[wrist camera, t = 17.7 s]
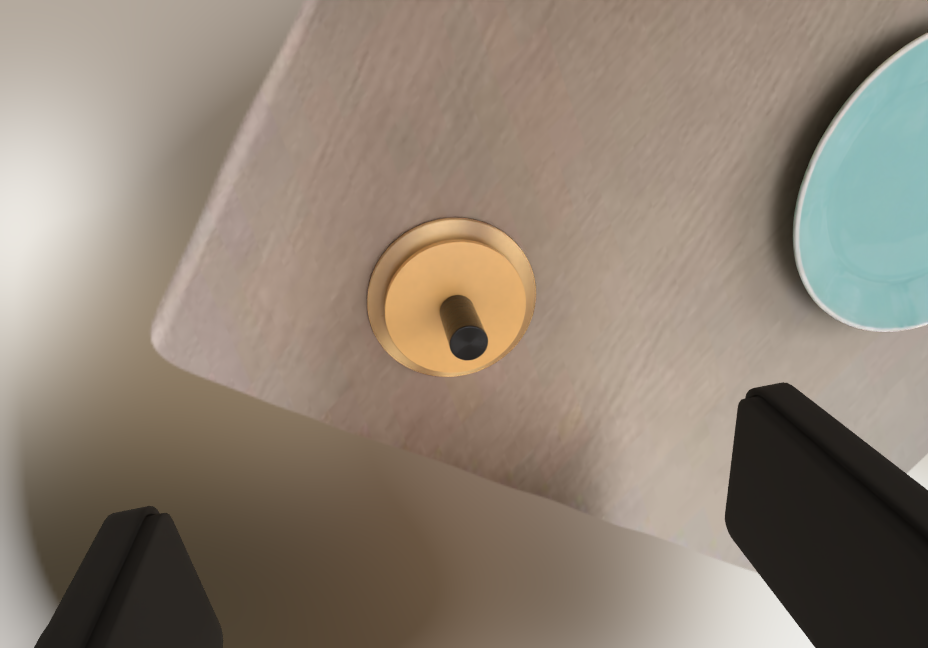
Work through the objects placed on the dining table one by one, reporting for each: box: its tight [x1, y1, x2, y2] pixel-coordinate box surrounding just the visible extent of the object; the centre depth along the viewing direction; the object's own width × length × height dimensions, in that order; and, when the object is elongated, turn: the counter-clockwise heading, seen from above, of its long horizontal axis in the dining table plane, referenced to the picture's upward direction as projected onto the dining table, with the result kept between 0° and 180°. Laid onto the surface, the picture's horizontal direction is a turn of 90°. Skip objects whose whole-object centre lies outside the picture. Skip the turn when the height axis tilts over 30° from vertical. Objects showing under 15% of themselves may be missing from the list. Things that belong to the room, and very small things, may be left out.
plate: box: [793, 32, 928, 332], centre depth 42 cm, size 22×22×3 cm
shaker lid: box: [384, 239, 526, 373], centre depth 38 cm, size 10×10×6 cm
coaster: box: [367, 218, 536, 377], centre depth 41 cm, size 12×12×1 cm
